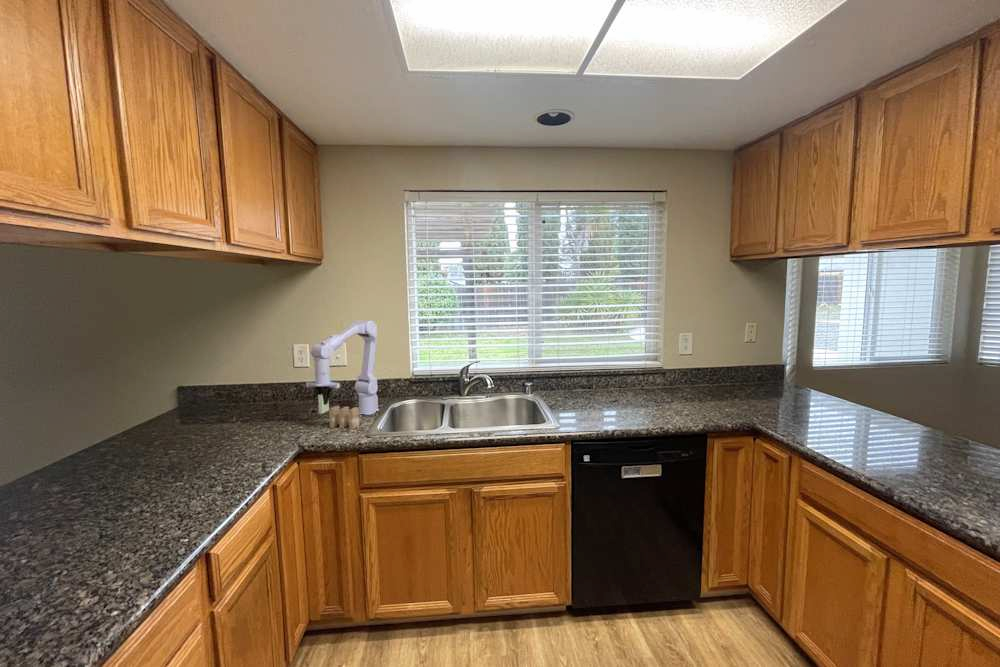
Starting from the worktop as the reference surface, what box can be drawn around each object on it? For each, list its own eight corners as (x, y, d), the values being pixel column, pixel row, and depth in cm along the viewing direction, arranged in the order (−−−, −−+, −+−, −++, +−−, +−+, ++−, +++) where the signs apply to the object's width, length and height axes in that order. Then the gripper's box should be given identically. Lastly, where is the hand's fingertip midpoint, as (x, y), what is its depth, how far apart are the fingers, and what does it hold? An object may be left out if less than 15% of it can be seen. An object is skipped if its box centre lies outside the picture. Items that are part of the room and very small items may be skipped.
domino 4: (349, 428, 176) (348, 410, 175) (355, 425, 180) (355, 407, 180) (352, 429, 175) (352, 410, 174) (359, 425, 180) (358, 407, 179)
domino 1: (318, 413, 176) (318, 394, 175) (325, 410, 181) (325, 392, 180) (322, 413, 175) (321, 395, 175) (329, 410, 180) (328, 392, 179)
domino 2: (330, 427, 177) (329, 409, 176) (336, 423, 182) (336, 405, 181) (333, 427, 177) (332, 409, 176) (340, 423, 182) (339, 406, 181)
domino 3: (339, 428, 176) (339, 409, 176) (346, 424, 181) (345, 406, 180) (343, 428, 176) (342, 409, 175) (349, 424, 181) (349, 406, 180)
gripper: (300, 373, 174) (302, 405, 175) (332, 375, 171) (333, 407, 172) (311, 370, 180) (312, 401, 182) (342, 371, 178) (343, 402, 179)
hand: (323, 403), depth 178 cm, fingers closed on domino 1, 1 cm apart
